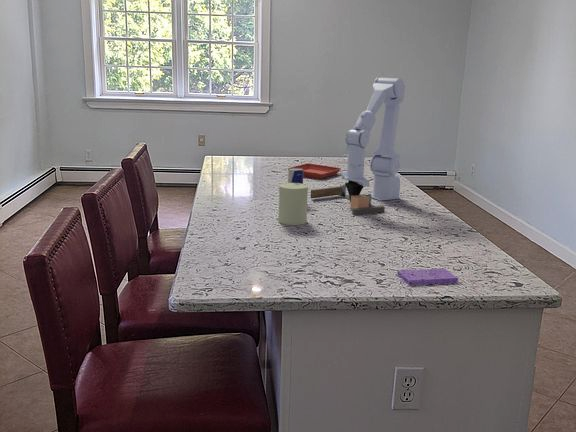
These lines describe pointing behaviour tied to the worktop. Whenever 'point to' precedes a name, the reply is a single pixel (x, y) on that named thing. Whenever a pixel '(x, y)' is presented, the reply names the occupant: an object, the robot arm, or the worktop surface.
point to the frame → (343, 194)
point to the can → (293, 203)
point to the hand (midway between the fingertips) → (353, 202)
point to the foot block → (359, 201)
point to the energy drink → (295, 175)
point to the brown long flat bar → (325, 192)
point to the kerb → (368, 210)
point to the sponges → (427, 276)
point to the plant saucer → (317, 170)
